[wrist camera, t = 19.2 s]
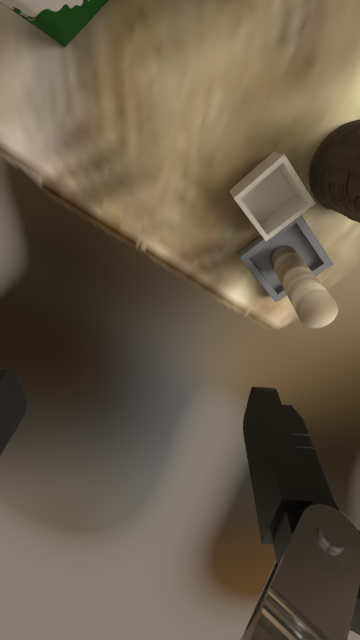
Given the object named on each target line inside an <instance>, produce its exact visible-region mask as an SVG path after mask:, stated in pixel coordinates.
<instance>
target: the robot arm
mask: <svg viewBox="0 0 360 640" xmlns="http://www.w3.org/2000/svg"><path fill="white" fill-rule="evenodd" d="M25 410H26V400H25V396H24V393H23V390H22V386H21V383H20V380H19V377H18V374H17V372H16V371H15V370H14V369H3V368H0V455H1V453H2V452H3V450H4V448H5V447H6V445H7V443H8V441H9V440H10V438H11V437H12V435H13V433H14V432H15V430H16V429H17V427H18V425H19V424H20V422H21V420H22V419H23V416H24V414H25ZM243 433H244V440H245V446H246V452H247V458H248V464H249V470H250V476H251V482H252V488H253V494H254V500H255V506H256V512H257V518H258V525H259V531H260V537H261V543H262V544H273V545H274V549H275V555H276V562H275V564H274V566H273V569H272V571H271V573H270V575H269V577H268V580H267V582H266V584H265V587H264V589H263V591H262V593H261V595H260V598H259V600H258V602H257V604H256V606H255V609H254V611H253V613H252V615H251V618H250V620H249V622H248V624H247V626H246V629H245V631H244V633H243V635H242V637H241V639H240V640H347V638H348V634H349V630H351V631H353V632H355V633H357V634H359V635H360V531H359V530H357V528H356V527H355V525H354V524H353V523H352V522H351V521H350V520H349V519H348V518H347V517H346V516H345V515H344V514H343V513H341V512H340V511H339V509H338V507H337V506H336V503H335V501H334V499H333V496H332V494H331V491H330V489H329V486H328V483H327V481H326V478H325V475H324V473H323V470H322V468H321V465H320V463H319V460H318V457H317V455H316V452H315V450H314V449H313V444H312V442H311V439H310V437H309V436H308V435H309V434H308V431H307V429H306V426H305V423H304V421H303V419H302V417H301V416H300V415H299V414H298V413H297V411H296V410H295V409H294V408H293V407H292V406H291V405H282V404H281V401H280V398H279V395H278V392H277V390H276V389H275V388H263V387H252V388H251V391H250V395H249V399H248V403H247V407H246V411H245V415H244V421H243Z"/></svg>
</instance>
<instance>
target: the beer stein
mask: <svg viewBox="0 0 360 640" xmlns="http://www.w3.org/2000/svg"><path fill="white" fill-rule="evenodd" d="M310 186H311V190H312V193H313V194H314V196H315V198H316V199H317V200H318V201H319V202H320V203H321V204H322V205H323V206H325V207H327V208H329V209H332V210H334V211H336V212H339V213H341V214H343V215H344V216H347V217H348V218H349V219H351V220H354V221H357V222H360V120H356V121H352V122H349V123H347V124H344V125H342V126H341V127H339V128H338V129H336V130H335V131H333V132H332V133H331V134H330V135H329V136H328V137H327V138H326V139H325V140H324V141H323V142H322V144H321V145H320V147H319V148H318V150H317V151H316V154H315V156H314V158H313V161H312V164H311V168H310Z"/></svg>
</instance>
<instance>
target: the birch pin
mask: <svg viewBox="0 0 360 640" xmlns="http://www.w3.org/2000/svg"><path fill="white" fill-rule="evenodd" d="M270 263H271V265H272V267H273V269H274V271H275V273H276V275H277V277H278V278H279V280H280V282H281V284H282V286H283V288H284V290H285V292H286V294H287V296H288V297H289V299H290V301H291V303H292V305H293V307H294V309H295V311H296V313H297V315H298V316H299V318H300V320H301V322H302V323H303V324H304V325H305V326H307V327H310V328H320V327H324V326H326V325H328V324H329V323H331V322H332V321H333V320H334V319H335V317H336V316H337V313H338V305H337V303H336V302H335V301H334V299H333V298H332V297H331V296H330V295H329V293H328V292H327V290H326V289H325V288H324V287H323V285H322V284H321V283H320V281H319V280H318V279H317V278H316V276H315V275H314V274H313V272H312V271H311V270H310V269H309V267H308V266H307V265H306V263H305V262H304V261H303V260H302V258H301V257H300V256H299V254H298V253H297V252H296V251H295V249H294V248H293V247H291V246H287V245H284V246H280V247H278V248H276V249H275V250H274V251H273V252H272V254H271V257H270Z"/></svg>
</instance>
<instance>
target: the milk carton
mask: <svg viewBox="0 0 360 640" xmlns="http://www.w3.org/2000/svg"><path fill="white" fill-rule="evenodd" d="M107 1H108V0H0V2H2V3H3V4H4V5H6V6H7V7H9V8H10V9H12V10H13V11H15V12H16V13H17V14H19V15H20V16H22V17H23V18H25V19H26V20H28V21H29V22H30V23H32V24H33V25H35V26H36V27H37V28H39V29H40V30H42V31H43V32H44V33H46V34H47V35H49V36H50V37H51V38H53V39H54V40H56V41H57V42H58V43H60V44H61V45H63V46H64V47H66V46H67V45H68V44H69V43H70V41H71V40H72V39H73V38H74V37H75V36H76V35H77V34H78V33H79V32H80V30H81V29H82V28H83V27H84V26H85V25H86V24H87V23H88V22H89V21H90V19H91V18H92V17H93V16H94V15H95V14H96V13H97V12H98V11H99V10H100V9H101V7H102V6H103V5H104V4H105V3H106V2H107Z"/></svg>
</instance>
